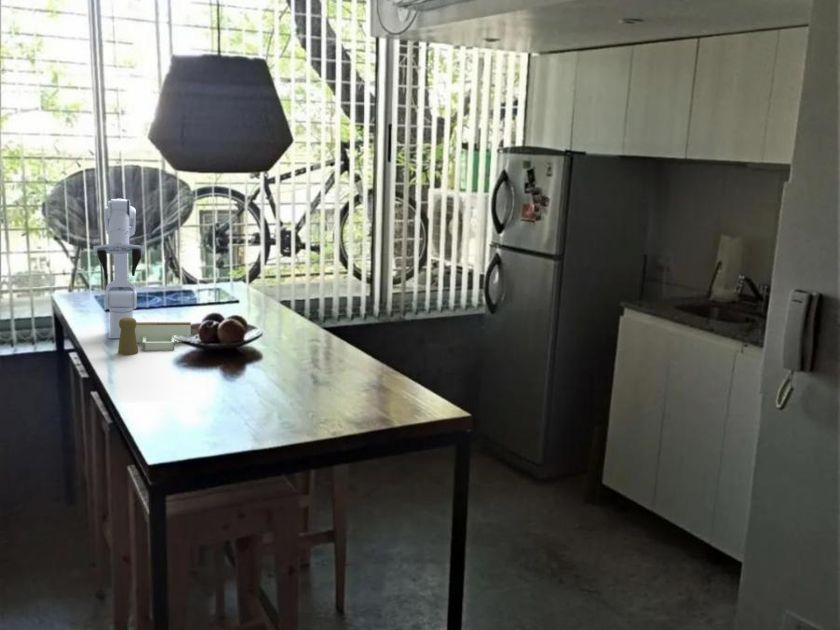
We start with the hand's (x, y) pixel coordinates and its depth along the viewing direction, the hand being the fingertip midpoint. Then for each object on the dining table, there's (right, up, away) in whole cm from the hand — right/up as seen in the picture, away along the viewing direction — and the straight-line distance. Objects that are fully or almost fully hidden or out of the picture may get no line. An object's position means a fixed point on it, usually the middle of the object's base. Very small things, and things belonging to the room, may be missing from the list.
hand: (119, 274), depth 244 cm
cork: (-2, -24, +12) cm, 27 cm away
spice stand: (+5, -22, +21) cm, 31 cm away
